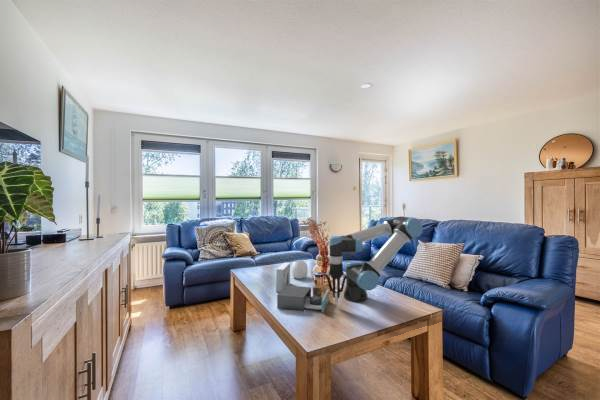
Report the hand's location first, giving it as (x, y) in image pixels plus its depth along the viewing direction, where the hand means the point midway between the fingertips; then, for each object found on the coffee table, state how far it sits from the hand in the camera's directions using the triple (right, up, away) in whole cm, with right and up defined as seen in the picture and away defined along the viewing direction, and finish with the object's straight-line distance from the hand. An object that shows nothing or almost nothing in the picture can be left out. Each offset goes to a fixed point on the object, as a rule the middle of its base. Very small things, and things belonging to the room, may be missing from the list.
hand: (336, 303), depth 155 cm
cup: (-21, -4, +62) cm, 66 cm away
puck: (-12, -1, +3) cm, 12 cm away
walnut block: (-10, -3, +17) cm, 20 cm away
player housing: (-24, -3, +7) cm, 26 cm away
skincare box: (-33, -4, +38) cm, 51 cm away
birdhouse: (-13, -3, +4) cm, 14 cm away
